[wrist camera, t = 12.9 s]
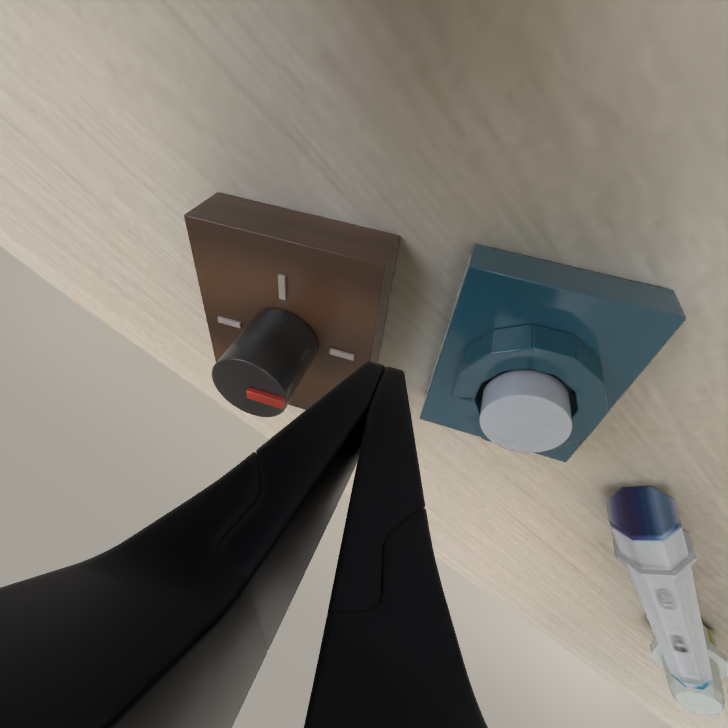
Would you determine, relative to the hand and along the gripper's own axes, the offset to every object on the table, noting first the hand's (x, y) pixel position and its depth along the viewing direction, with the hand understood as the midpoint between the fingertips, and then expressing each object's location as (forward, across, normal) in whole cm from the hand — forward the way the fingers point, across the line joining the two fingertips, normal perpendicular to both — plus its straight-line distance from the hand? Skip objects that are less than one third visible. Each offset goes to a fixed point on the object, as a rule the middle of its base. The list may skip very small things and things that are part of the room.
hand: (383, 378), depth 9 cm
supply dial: (+9, +7, +9) cm, 15 cm away
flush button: (+9, -6, +8) cm, 13 cm away
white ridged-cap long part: (+13, -24, +26) cm, 38 cm away
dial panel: (+12, +7, +9) cm, 17 cm away
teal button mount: (+12, -6, +8) cm, 16 cm away
